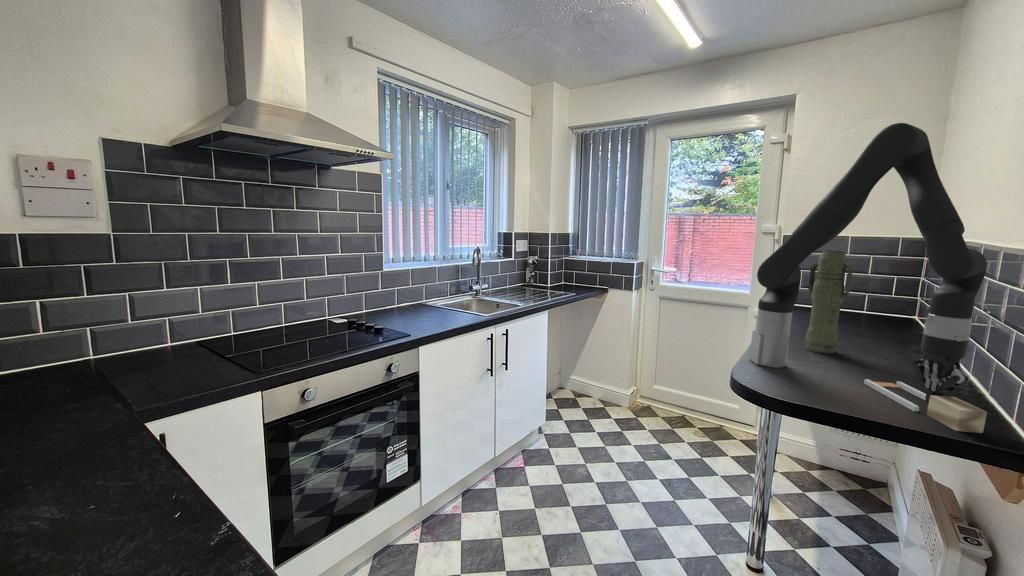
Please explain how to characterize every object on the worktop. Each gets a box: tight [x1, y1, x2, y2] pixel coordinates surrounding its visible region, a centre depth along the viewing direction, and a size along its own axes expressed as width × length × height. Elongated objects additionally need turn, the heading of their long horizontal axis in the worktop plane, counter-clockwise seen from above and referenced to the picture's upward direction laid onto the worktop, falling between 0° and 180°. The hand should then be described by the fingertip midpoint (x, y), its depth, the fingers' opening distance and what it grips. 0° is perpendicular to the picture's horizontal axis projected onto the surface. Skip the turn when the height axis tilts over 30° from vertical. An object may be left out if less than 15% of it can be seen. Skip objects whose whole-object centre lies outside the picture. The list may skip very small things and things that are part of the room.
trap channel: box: [863, 378, 926, 412], centre depth 110 cm, size 9×19×1 cm, turn 171°
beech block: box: [926, 395, 988, 434], centre depth 95 cm, size 5×8×5 cm, turn 171°
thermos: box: [805, 249, 854, 355], centre depth 148 cm, size 9×12×35 cm
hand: (932, 404), depth 102 cm, fingers closed
